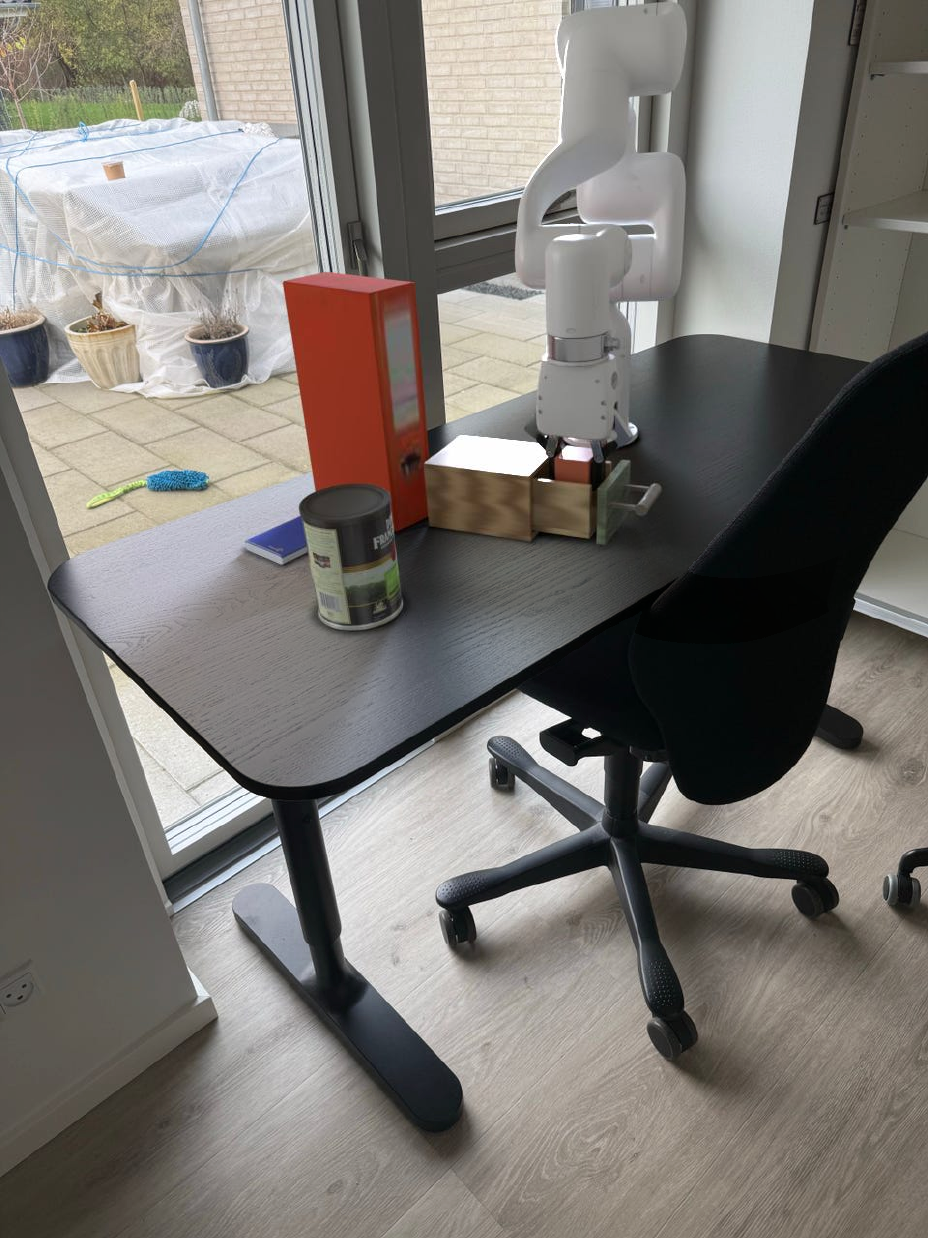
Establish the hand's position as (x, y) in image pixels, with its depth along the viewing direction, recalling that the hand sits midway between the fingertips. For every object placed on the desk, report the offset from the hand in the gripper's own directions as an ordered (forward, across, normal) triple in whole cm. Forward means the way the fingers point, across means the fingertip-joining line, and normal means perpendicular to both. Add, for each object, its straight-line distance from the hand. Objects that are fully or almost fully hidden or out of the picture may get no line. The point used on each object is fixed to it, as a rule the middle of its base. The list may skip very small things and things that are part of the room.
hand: (577, 483), depth 116 cm
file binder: (+7, +30, +3) cm, 31 cm away
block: (0, 0, 0) cm, 0 cm away
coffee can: (+7, +17, +29) cm, 34 cm away
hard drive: (+7, +35, +16) cm, 39 cm away
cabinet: (+7, +12, 0) cm, 14 cm away
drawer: (+6, -1, 0) cm, 6 cm away
